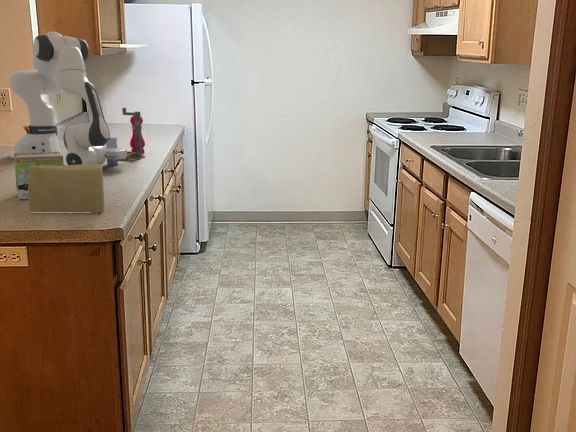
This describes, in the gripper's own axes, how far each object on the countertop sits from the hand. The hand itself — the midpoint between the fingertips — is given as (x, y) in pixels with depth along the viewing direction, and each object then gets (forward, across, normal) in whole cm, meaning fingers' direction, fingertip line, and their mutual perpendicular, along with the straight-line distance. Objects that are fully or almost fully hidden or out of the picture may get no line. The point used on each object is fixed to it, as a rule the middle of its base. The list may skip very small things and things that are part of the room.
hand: (112, 149), depth 269 cm
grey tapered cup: (-1, 0, +6) cm, 7 cm away
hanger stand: (+15, +2, +6) cm, 17 cm away
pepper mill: (+30, +4, +7) cm, 31 cm away
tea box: (-60, -7, +7) cm, 61 cm away
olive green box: (-75, -27, +7) cm, 80 cm away
